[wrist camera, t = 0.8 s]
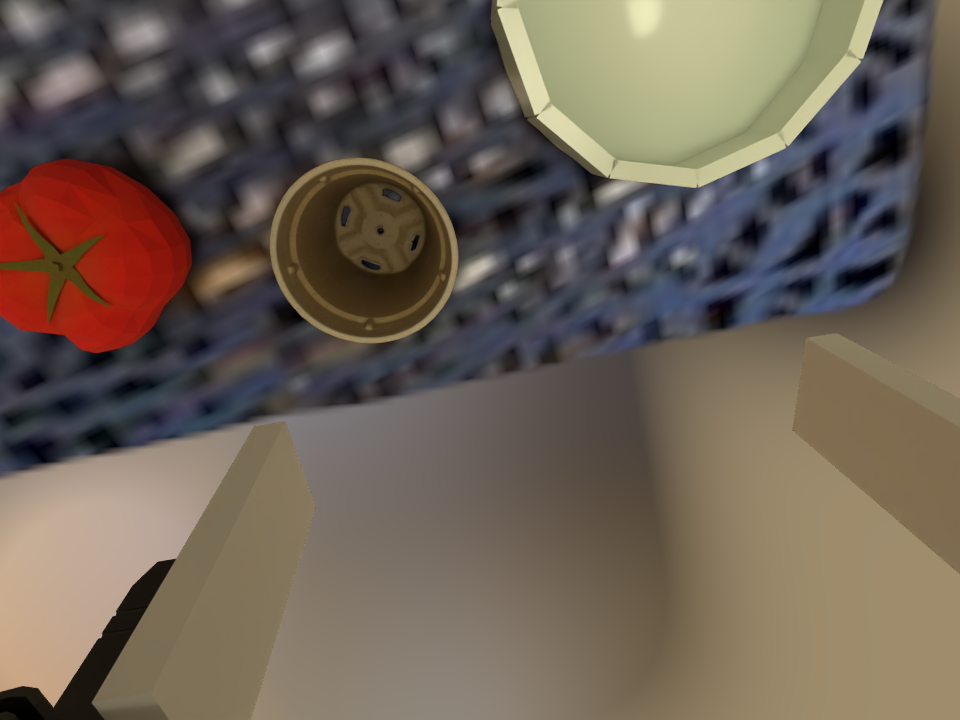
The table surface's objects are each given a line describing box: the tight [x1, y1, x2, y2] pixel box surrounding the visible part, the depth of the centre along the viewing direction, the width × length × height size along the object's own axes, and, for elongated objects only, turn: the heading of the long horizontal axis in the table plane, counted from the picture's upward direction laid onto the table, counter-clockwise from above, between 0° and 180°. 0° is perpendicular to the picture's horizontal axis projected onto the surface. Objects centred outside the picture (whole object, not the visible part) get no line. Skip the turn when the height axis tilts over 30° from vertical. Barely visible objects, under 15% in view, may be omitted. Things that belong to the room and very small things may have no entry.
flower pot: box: [270, 158, 458, 343], centre depth 30 cm, size 9×9×9 cm
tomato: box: [0, 159, 192, 353], centre depth 30 cm, size 10×11×6 cm
